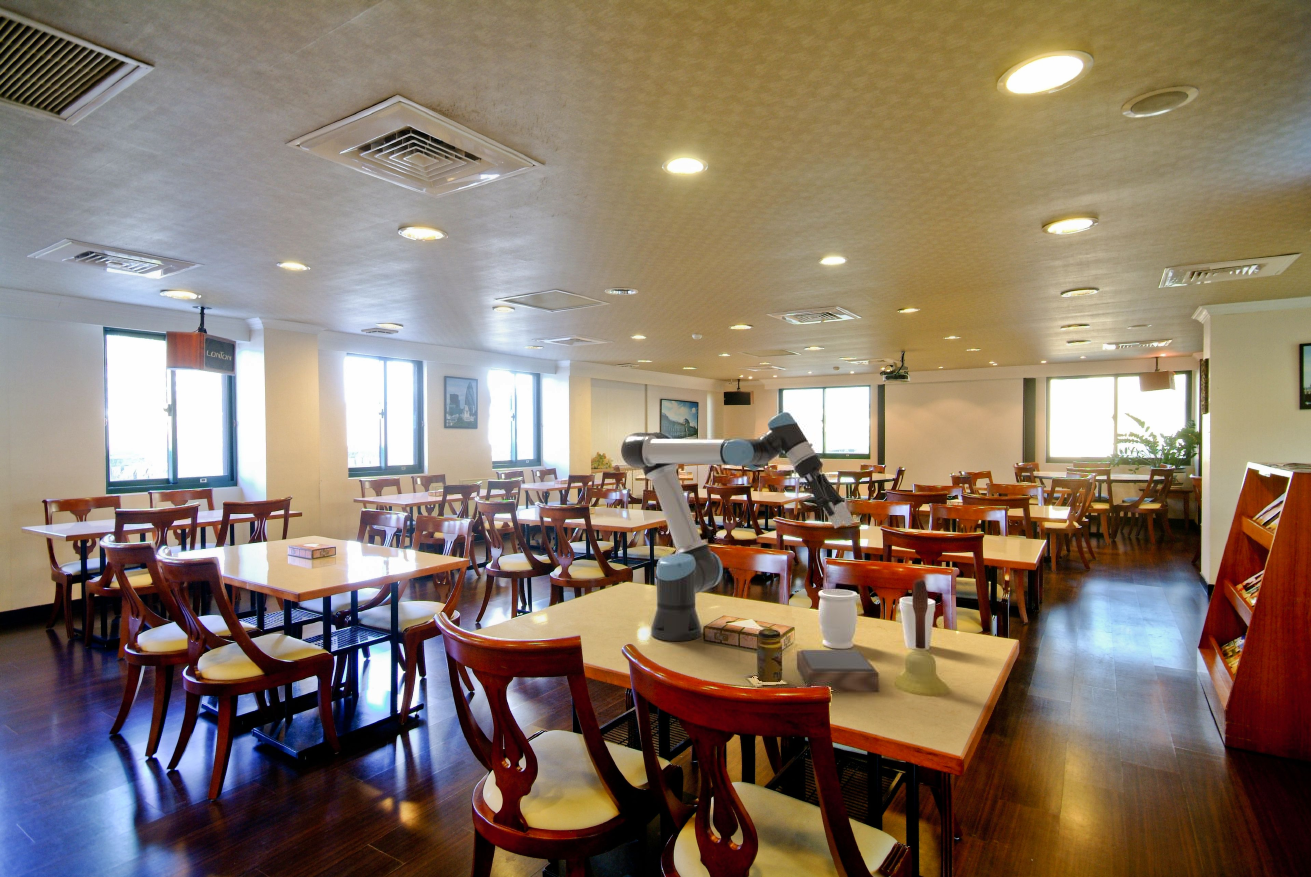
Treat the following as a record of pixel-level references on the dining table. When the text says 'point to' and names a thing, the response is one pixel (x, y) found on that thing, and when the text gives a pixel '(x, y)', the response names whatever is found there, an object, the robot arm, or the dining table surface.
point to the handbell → (920, 654)
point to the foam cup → (909, 621)
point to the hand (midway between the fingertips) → (845, 524)
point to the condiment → (769, 656)
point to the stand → (837, 670)
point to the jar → (837, 617)
